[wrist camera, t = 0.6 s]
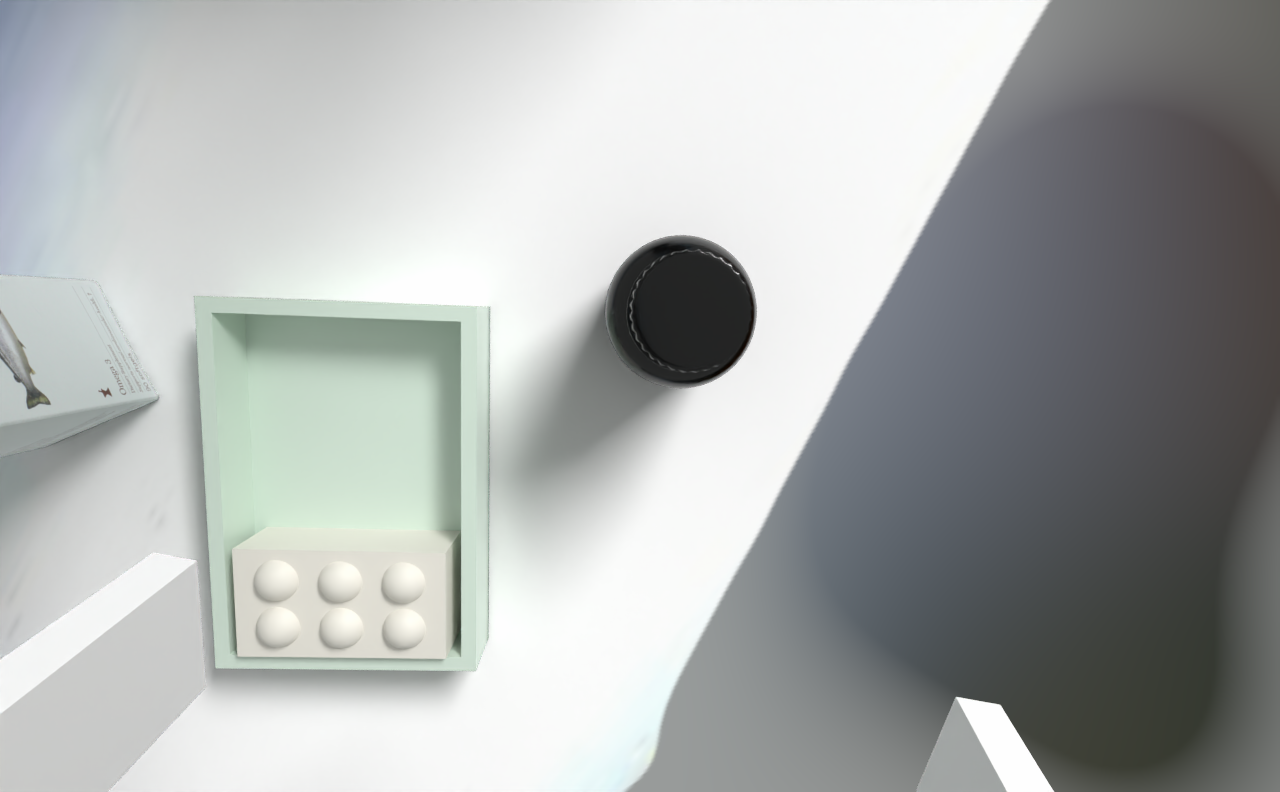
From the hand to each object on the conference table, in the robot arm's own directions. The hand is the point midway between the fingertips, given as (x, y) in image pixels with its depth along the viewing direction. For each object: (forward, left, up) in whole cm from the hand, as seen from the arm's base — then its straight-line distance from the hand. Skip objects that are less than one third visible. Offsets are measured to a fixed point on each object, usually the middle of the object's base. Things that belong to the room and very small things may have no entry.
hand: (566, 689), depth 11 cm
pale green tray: (+4, -13, -26) cm, 29 cm away
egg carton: (+10, -13, -26) cm, 31 cm away
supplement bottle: (-6, +4, -26) cm, 27 cm away
